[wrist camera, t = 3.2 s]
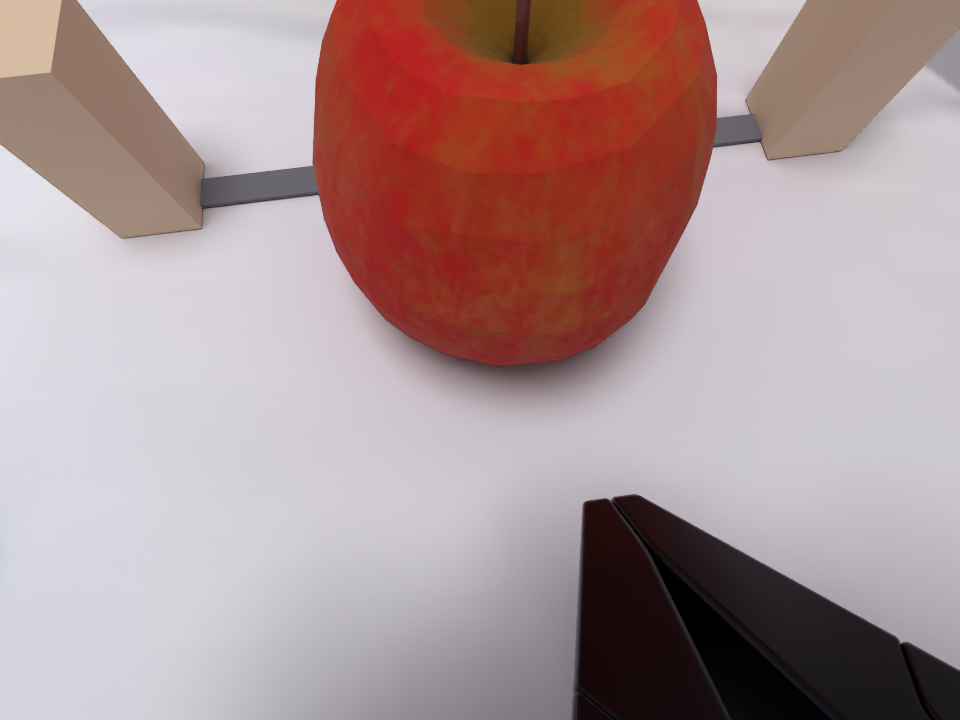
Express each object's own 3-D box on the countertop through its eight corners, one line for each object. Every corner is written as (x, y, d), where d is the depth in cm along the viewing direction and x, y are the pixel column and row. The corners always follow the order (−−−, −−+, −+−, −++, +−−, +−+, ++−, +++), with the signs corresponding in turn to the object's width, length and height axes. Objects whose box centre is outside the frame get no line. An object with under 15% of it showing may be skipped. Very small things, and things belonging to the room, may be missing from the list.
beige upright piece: (841, 150, 20) (1021, -35, 13) (121, 238, 19) (-75, 85, 12) (816, 90, 21) (972, -111, 14) (126, 171, 20) (-52, -4, 13)
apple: (640, 411, 17) (878, 265, 7) (323, 370, 17) (96, 174, 7) (652, 143, 20) (830, -240, 10) (381, 113, 20) (281, -282, 10)
